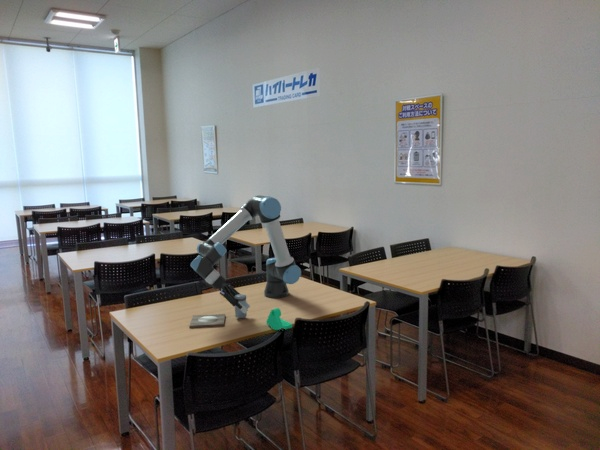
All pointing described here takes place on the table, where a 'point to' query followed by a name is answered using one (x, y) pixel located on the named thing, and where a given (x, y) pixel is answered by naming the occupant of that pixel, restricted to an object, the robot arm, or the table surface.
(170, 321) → the table surface
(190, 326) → the mounting plate
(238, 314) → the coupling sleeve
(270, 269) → the robot arm
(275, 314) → the green toy figure
